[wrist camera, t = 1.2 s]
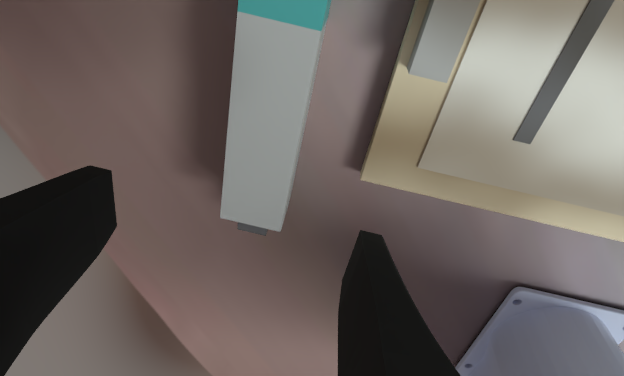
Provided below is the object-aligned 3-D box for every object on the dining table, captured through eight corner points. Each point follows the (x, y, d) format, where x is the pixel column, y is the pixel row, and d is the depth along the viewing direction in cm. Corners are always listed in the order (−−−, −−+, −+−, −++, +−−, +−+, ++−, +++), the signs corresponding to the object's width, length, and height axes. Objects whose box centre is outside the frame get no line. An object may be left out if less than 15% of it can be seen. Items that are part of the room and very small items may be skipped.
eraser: (286, 217, 23) (276, 248, 20) (233, 204, 23) (218, 235, 20) (344, -63, 15) (340, -63, 13) (264, -82, 15) (245, -86, 13)
